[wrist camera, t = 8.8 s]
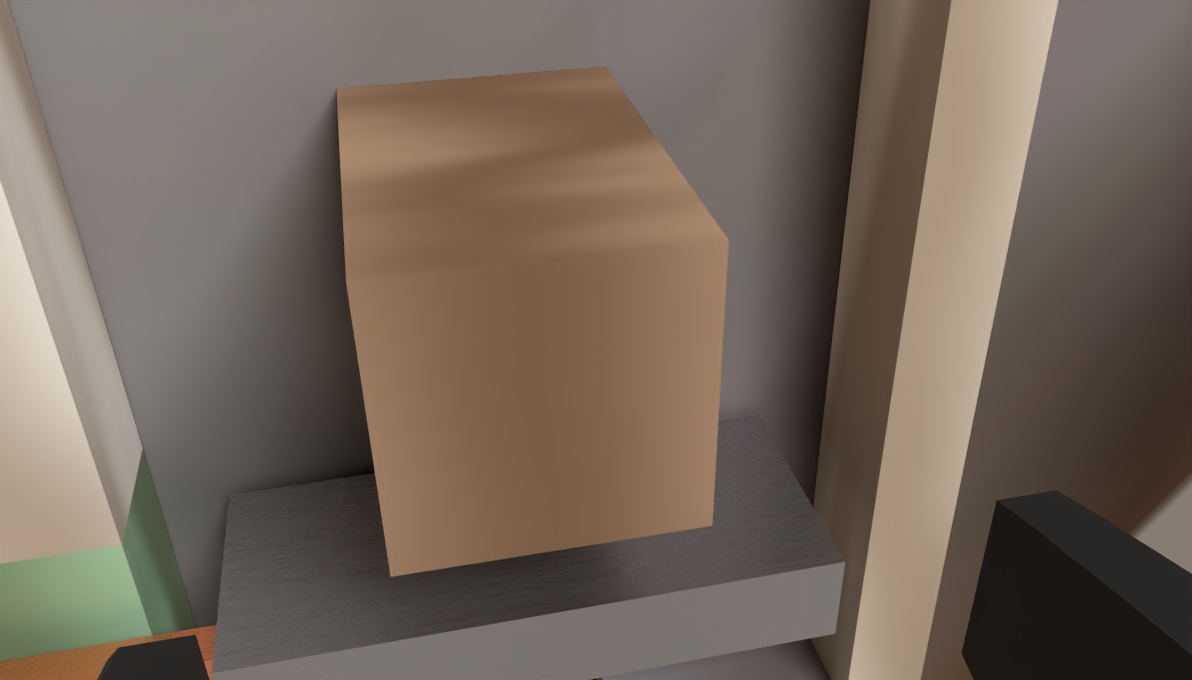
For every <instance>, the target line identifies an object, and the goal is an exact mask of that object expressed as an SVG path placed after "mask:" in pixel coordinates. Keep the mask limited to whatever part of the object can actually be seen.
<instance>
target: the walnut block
mask: <svg viewBox="0 0 1192 680" xmlns="http://www.w3.org/2000/svg"><path fill="white" fill-rule="evenodd" d="M336 90H337V110H338V130H339V150H340V170H341V190H342V210H343V230H344V250H345V270H346V285H347V292H348V298H349V305H350V312H351V318H352V325H353V331H354V338H355V345H356V351H357V358H358V364H359V371H360V378H361V384H362V391H363V397H364V404H365V411H366V417H367V424H368V430H369V437H370V444H371V450H372V457H373V464H374V470H375V477H376V483H377V490H378V497H379V503H380V510H381V516H382V523H383V530H384V536H385V543H386V549H387V556H388V563H389V569H390V576H391V577H393V576H399V575H405V574H412V573H418V572H424V571H430V570H437V569H443V568H449V567H456V566H462V565H468V564H475V563H481V562H487V561H494V560H500V559H506V558H512V557H519V556H525V555H531V554H538V553H544V552H550V551H557V550H563V549H569V548H575V547H582V546H588V545H594V544H601V543H607V542H613V541H620V540H626V539H632V538H639V537H645V536H651V535H657V534H664V533H670V532H676V531H683V530H689V529H695V528H702V527H708V526H712V523H713V506H714V489H715V471H716V454H717V437H718V420H719V402H720V385H721V368H722V350H723V333H724V316H725V298H726V281H727V264H728V246H729V240H728V238H727V237H726V235H725V234H724V233H723V231H722V230H721V228H720V227H719V226H718V224H717V223H716V221H715V220H714V219H713V217H712V216H711V214H710V213H709V212H708V210H707V209H706V207H705V206H704V204H703V203H702V202H701V200H700V199H699V197H698V196H697V195H696V193H695V192H694V190H693V189H692V188H691V186H690V185H689V183H688V182H687V181H686V179H685V178H684V176H683V175H682V174H681V172H680V171H679V169H678V168H677V167H676V165H675V164H674V162H673V161H672V160H671V158H670V157H669V155H668V154H667V153H666V151H665V150H664V148H663V147H662V146H661V144H660V143H659V141H658V140H657V139H656V137H655V136H654V134H653V133H652V132H651V130H650V129H649V127H648V126H647V124H646V123H645V122H644V120H643V119H642V117H641V116H640V115H639V113H638V112H637V110H636V109H635V108H634V106H633V105H632V103H631V102H630V101H629V99H628V98H627V96H626V95H625V94H624V92H623V91H622V89H621V88H620V87H619V85H618V84H617V82H616V81H615V80H614V78H613V77H612V75H611V74H610V73H609V71H608V70H607V68H606V67H594V68H582V69H570V70H558V71H545V72H533V73H521V74H509V75H497V76H484V77H472V78H460V79H448V80H436V81H423V82H411V83H399V84H387V85H375V86H362V87H350V88H338V89H336Z"/></svg>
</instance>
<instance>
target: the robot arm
mask: <svg viewBox="0 0 1192 680" xmlns="http://www.w3.org/2000/svg"><path fill="white" fill-rule="evenodd" d="M962 655H963V657H964V659H965V662H966V664H967V666H968V668H969V670H970V673H971V675H972V677H973V679H974V680H1192V574H1191V573H1189V572H1188V571H1186V570H1185V569H1183V568H1181V567H1180V566H1178V565H1177V564H1175V563H1174V562H1172V561H1171V560H1169V559H1167V558H1166V557H1164V556H1163V555H1161V554H1159V553H1158V552H1156V551H1155V550H1153V549H1151V548H1150V547H1148V546H1147V545H1145V544H1143V543H1142V542H1140V541H1139V540H1137V539H1136V538H1134V537H1132V536H1131V535H1129V534H1128V533H1126V532H1124V531H1123V530H1121V529H1120V528H1118V527H1116V526H1115V525H1113V524H1112V523H1110V522H1108V521H1107V520H1105V519H1103V518H1102V517H1100V516H1099V515H1097V514H1095V513H1094V512H1092V511H1090V510H1089V509H1087V508H1085V507H1084V506H1082V505H1080V504H1079V503H1077V502H1075V501H1073V500H1072V499H1070V498H1068V497H1066V496H1065V495H1063V494H1061V493H1059V492H1058V491H1051V492H1045V493H1039V494H1033V495H1027V496H1021V497H1015V498H1009V499H1003V500H997V501H996V506H995V510H994V515H993V519H992V523H991V528H990V532H989V536H988V541H987V545H986V550H985V554H984V558H983V563H982V567H981V571H980V576H979V580H978V585H977V589H976V593H975V598H974V602H973V606H972V611H971V615H970V620H969V624H968V628H967V633H966V637H965V641H964V646H963V650H962ZM97 680H209V676H208V673H207V670H206V666H205V663H204V660H203V656H202V653H201V650H200V647H199V643H198V640H197V637H196V635H190V636H184V637H178V638H172V639H166V640H160V641H154V642H148V643H142V644H136V645H130V646H124V647H118V649H117V650H116V651H115V652H114V653H113V654H112V655H111V656H110V657H109V658H108V660H107V661H106V663H105V665H104V667H103V669H102V671H101V673H100V675H99V677H98V679H97Z"/></svg>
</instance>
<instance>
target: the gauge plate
mask: <svg viewBox="0 0 1192 680" xmlns="http://www.w3.org/2000/svg"><path fill="white" fill-rule="evenodd" d="M844 567H845V561H844V559H843V557H842V556H841V554H840V552H839V550H838V549H837V547H836V545H835V544H834V542H833V540H832V539H831V537H830V535H829V533H828V532H827V530H826V528H825V527H824V525H823V523H822V522H821V520H820V518H819V516H818V515H817V513H816V511H815V510H814V508H813V506H812V505H811V503H810V501H809V499H808V498H807V496H806V494H805V493H804V491H803V489H802V488H801V486H800V484H799V482H798V481H797V479H796V477H795V476H794V474H793V472H792V471H791V469H790V467H789V466H788V464H787V462H786V460H785V459H784V457H783V455H782V454H781V452H780V450H779V449H778V447H777V445H776V443H775V442H774V440H773V438H772V437H771V435H770V433H769V432H768V430H767V428H766V426H765V425H764V423H763V421H762V420H761V418H760V416H754V417H747V418H741V419H734V420H727V421H721V422H718V437H717V454H716V471H715V489H714V506H713V523H712V526H708V527H702V528H695V529H689V530H683V531H676V532H670V533H664V534H657V535H651V536H645V537H639V538H632V539H626V540H620V541H613V542H607V543H601V544H594V545H588V546H582V547H575V548H569V549H563V550H557V551H550V552H544V553H538V554H531V555H525V556H519V557H512V558H506V559H500V560H494V561H487V562H481V563H475V564H468V565H462V566H456V567H449V568H443V569H437V570H430V571H424V572H418V573H412V574H405V575H399V576H393V577H391V576H390V569H389V563H388V556H387V549H386V543H385V536H384V530H383V523H382V516H381V510H380V503H379V497H378V490H377V483H376V477H375V473H373V474H366V475H359V476H353V477H346V478H339V479H332V480H326V481H319V482H312V483H306V484H299V485H292V486H286V487H279V488H272V489H266V490H259V491H252V492H245V493H239V494H232V495H229V501H228V511H227V521H226V532H225V542H224V552H223V562H222V572H221V582H220V593H219V603H218V613H217V623H216V625H213V626H207V627H201V628H195V629H189V630H184V631H178V632H172V633H166V634H160V635H154V636H148V637H142V638H136V639H130V640H124V641H118V642H112V643H107V644H101V645H95V646H89V647H83V648H77V649H71V650H65V651H59V652H53V653H47V654H41V655H35V656H29V657H24V658H18V659H12V660H6V661H0V680H97V679H98V677H99V675H100V673H101V671H102V669H103V667H104V665H105V663H106V661H107V660H108V658H109V657H110V656H111V655H112V654H113V653H114V652H115V651H116V650H117V649H118V647H124V646H130V645H136V644H142V643H148V642H154V641H160V640H166V639H172V638H178V637H184V636H190V635H196V637H197V640H198V643H199V647H200V650H201V653H202V656H203V660H204V663H205V666H206V670H207V673H208V676H209V680H591V679H596V678H602V677H607V676H612V675H618V674H623V673H628V672H634V671H639V670H644V669H650V668H655V667H660V666H665V665H671V664H676V663H681V662H687V661H692V660H697V659H703V658H708V657H713V656H719V655H724V654H729V653H735V652H740V651H745V650H751V649H756V648H761V647H767V646H772V645H777V644H783V643H788V642H793V641H799V640H804V639H809V638H815V637H820V636H825V635H831V634H835V633H836V626H837V618H838V611H839V604H840V596H841V589H842V582H843V575H844Z"/></svg>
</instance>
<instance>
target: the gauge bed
mask: <svg viewBox="0 0 1192 680" xmlns="http://www.w3.org/2000/svg"><path fill="white" fill-rule="evenodd" d="M1057 4H1058V0H870V8H869V17H868V26H867V34H866V43H865V52H864V61H863V70H862V79H861V88H860V97H859V105H858V114H857V123H856V132H855V141H854V150H853V159H852V168H851V176H850V185H849V194H848V203H847V212H846V221H845V230H844V239H843V247H842V256H841V265H840V274H839V283H838V292H837V301H836V310H835V319H834V327H833V336H832V345H831V354H830V363H829V372H828V381H827V390H826V398H825V407H824V416H823V425H822V434H821V443H820V452H819V461H818V469H817V478H816V487H815V496H814V505H813V508H814V510H815V511H816V513H817V515H818V516H819V518H820V520H821V522H822V523H823V525H824V527H825V528H826V530H827V532H828V533H829V535H830V537H831V539H832V540H833V542H834V544H835V545H836V547H837V549H838V550H839V552H840V554H841V556H842V557H843V559H844V561H845V567H844V575H843V582H842V589H841V596H840V604H839V611H838V618H837V626H836V633H835V634H831V635H825V636H820V637H815V638H809V639H804V640H799V641H793V642H788V643H783V644H777V645H772V646H767V647H761V648H756V649H751V650H745V651H740V652H735V653H729V654H724V655H719V656H713V657H708V658H703V659H697V660H692V661H687V662H681V663H676V664H671V665H665V666H660V667H655V668H650V669H644V670H639V671H634V672H628V673H623V674H618V675H612V676H607V677H602V678H597V680H921V675H922V670H923V665H924V660H925V655H926V650H927V645H928V640H929V635H930V630H931V625H932V620H933V615H934V611H935V606H936V601H937V596H938V591H939V586H940V581H941V576H942V571H943V566H944V561H945V556H946V551H947V546H948V542H949V537H950V532H951V527H952V522H953V517H954V512H955V507H956V502H957V497H958V492H959V487H960V482H961V477H962V472H963V468H964V463H965V458H966V453H967V448H968V443H969V438H970V433H971V428H972V423H973V418H974V413H975V408H976V403H977V399H978V394H979V389H980V384H981V379H982V374H983V369H984V364H985V359H986V354H987V349H988V344H989V339H990V334H991V329H992V325H993V320H994V315H995V310H996V305H997V300H998V295H999V290H1000V285H1001V280H1002V275H1003V270H1004V265H1005V260H1006V256H1007V251H1008V246H1009V241H1010V236H1011V231H1012V226H1013V221H1014V216H1015V211H1016V206H1017V201H1018V196H1019V191H1020V186H1021V182H1022V177H1023V172H1024V167H1025V162H1026V157H1027V152H1028V147H1029V142H1030V137H1031V132H1032V127H1033V122H1034V117H1035V113H1036V108H1037V103H1038V98H1039V93H1040V88H1041V83H1042V78H1043V73H1044V68H1045V63H1046V58H1047V53H1048V48H1049V43H1050V39H1051V34H1052V29H1053V24H1054V19H1055V14H1056V9H1057ZM195 628H197V627H196V624H195V621H194V617H193V614H192V611H191V607H190V604H189V601H188V597H187V594H186V591H185V588H184V584H183V581H182V578H181V574H180V571H179V568H178V564H177V561H176V558H175V554H174V551H173V548H172V544H171V541H170V538H169V534H168V531H167V528H166V524H165V521H164V518H163V515H162V511H161V508H160V505H159V501H158V498H157V495H156V491H155V488H154V485H153V481H152V478H151V475H150V471H149V468H148V465H147V461H146V458H145V455H144V451H143V448H142V445H141V442H140V438H139V435H138V432H137V428H136V425H135V422H134V418H133V415H132V412H131V408H130V405H129V402H128V398H127V395H126V392H125V388H124V385H123V382H122V378H121V375H120V372H119V369H118V365H117V362H116V359H115V355H114V352H113V349H112V345H111V342H110V339H109V335H108V332H107V329H106V325H105V322H104V319H103V315H102V312H101V309H100V306H99V302H98V299H97V296H96V292H95V289H94V286H93V282H92V279H91V276H90V272H89V269H88V266H87V262H86V259H85V256H84V252H83V249H82V246H81V242H80V239H79V236H78V233H77V229H76V226H75V223H74V219H73V216H72V213H71V209H70V206H69V203H68V199H67V196H66V193H65V189H64V186H63V183H62V179H61V176H60V173H59V169H58V166H57V163H56V160H55V156H54V153H53V150H52V146H51V143H50V140H49V136H48V133H47V130H46V126H45V123H44V120H43V116H42V113H41V110H40V106H39V103H38V100H37V96H36V93H35V90H34V87H33V83H32V80H31V77H30V73H29V70H28V67H27V63H26V60H25V57H24V53H23V50H22V47H21V43H20V40H19V37H18V33H17V30H16V27H15V24H14V20H13V17H12V14H11V10H10V7H9V4H8V0H0V661H6V660H12V659H18V658H24V657H29V656H35V655H41V654H47V653H53V652H59V651H65V650H71V649H77V648H83V647H89V646H95V645H101V644H107V643H112V642H118V641H124V640H130V639H136V638H142V637H148V636H154V635H160V634H166V633H172V632H178V631H184V630H189V629H195Z"/></svg>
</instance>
